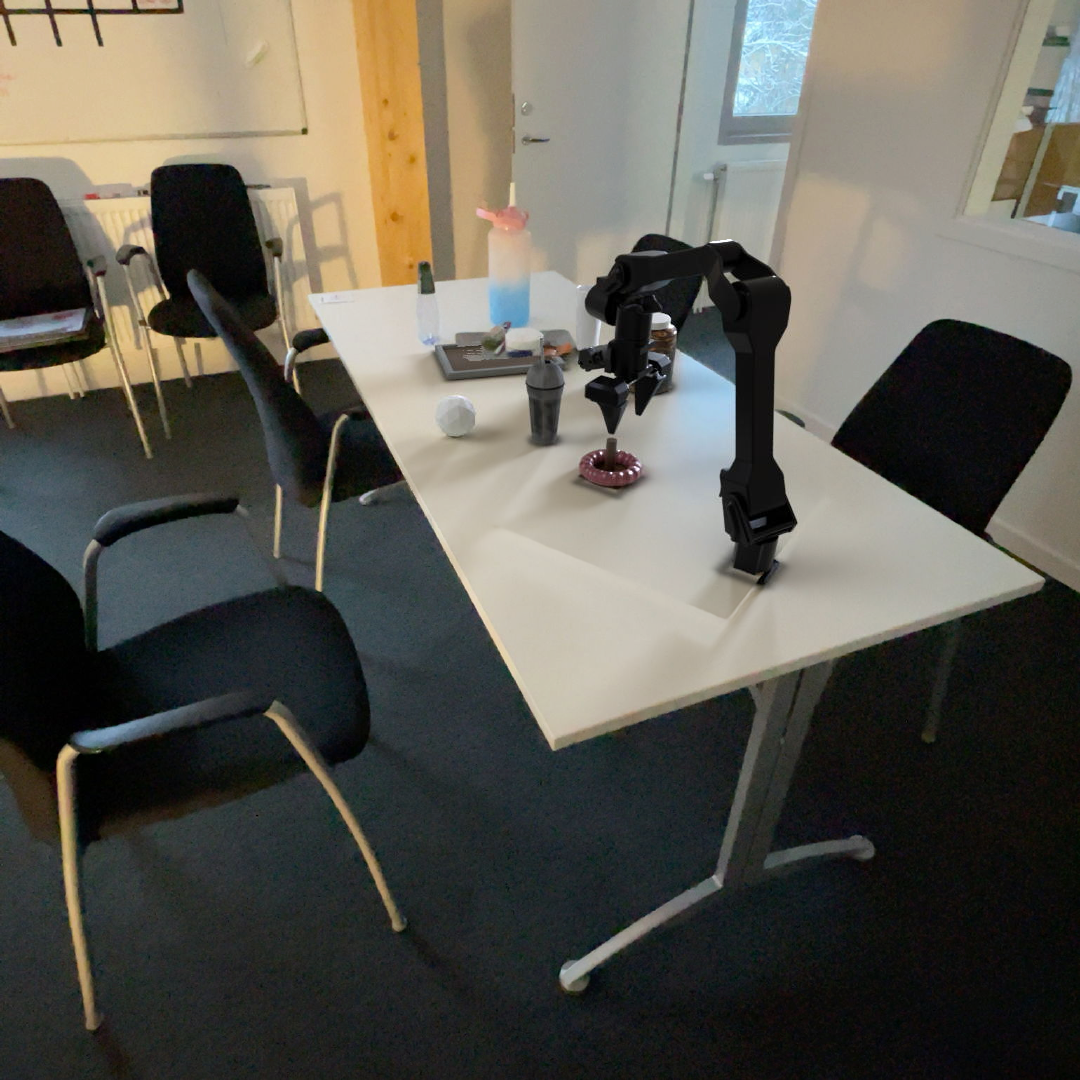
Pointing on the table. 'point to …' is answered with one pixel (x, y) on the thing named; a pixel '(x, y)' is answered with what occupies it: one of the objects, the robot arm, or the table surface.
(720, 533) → the table surface
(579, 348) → the drinking glass
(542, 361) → the beverage cup
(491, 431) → the table surface
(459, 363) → the gray tray
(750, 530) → the robot arm
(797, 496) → the table surface
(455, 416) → the geometric ball
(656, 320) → the jar
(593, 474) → the ring
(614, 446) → the stand
